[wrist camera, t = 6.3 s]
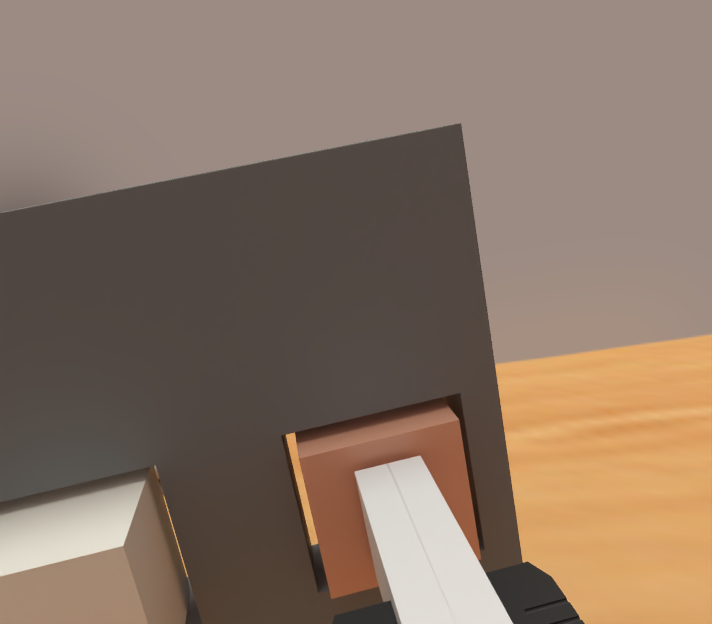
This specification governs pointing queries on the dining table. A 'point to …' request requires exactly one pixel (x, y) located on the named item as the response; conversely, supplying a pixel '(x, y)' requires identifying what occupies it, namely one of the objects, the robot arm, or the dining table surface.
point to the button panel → (250, 350)
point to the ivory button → (92, 555)
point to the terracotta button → (369, 449)
